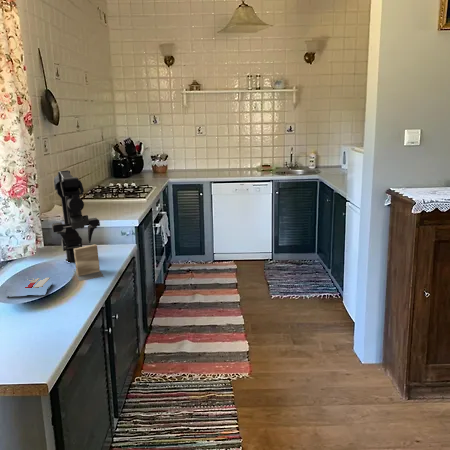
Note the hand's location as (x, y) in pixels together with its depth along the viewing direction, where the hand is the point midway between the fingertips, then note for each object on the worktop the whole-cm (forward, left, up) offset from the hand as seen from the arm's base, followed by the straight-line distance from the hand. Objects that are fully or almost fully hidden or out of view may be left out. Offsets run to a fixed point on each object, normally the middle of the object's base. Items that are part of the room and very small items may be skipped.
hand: (78, 244), depth 198 cm
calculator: (+3, -21, -16) cm, 27 cm away
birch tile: (-5, +3, -15) cm, 16 cm away
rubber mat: (-5, +3, -15) cm, 16 cm away
